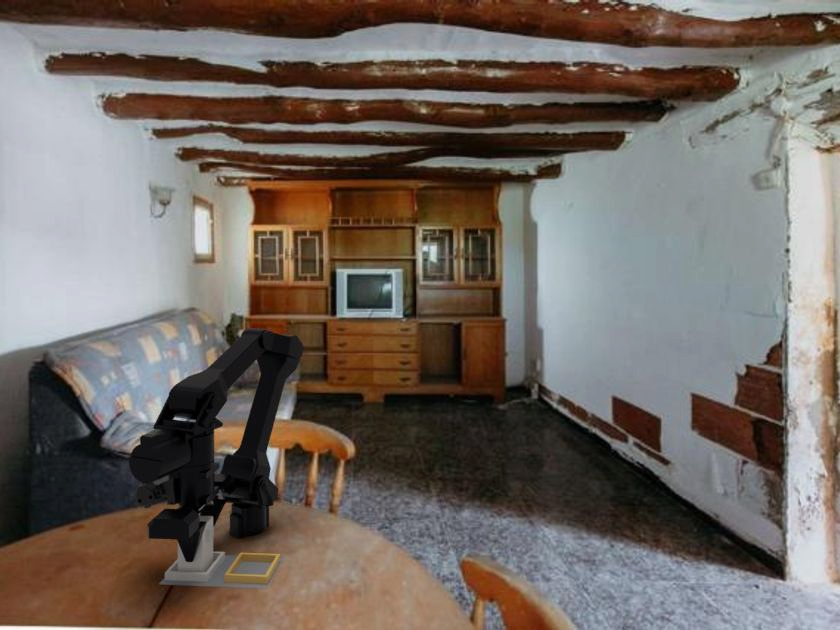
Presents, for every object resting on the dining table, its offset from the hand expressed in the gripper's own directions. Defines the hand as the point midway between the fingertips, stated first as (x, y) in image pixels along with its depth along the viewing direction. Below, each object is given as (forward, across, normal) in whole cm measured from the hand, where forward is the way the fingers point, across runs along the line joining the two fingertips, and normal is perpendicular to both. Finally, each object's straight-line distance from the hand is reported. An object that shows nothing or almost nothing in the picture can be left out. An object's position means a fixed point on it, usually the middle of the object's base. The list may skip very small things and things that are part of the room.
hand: (195, 554), depth 86 cm
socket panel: (+3, 0, +5) cm, 6 cm away
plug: (+2, 0, 0) cm, 2 cm away
